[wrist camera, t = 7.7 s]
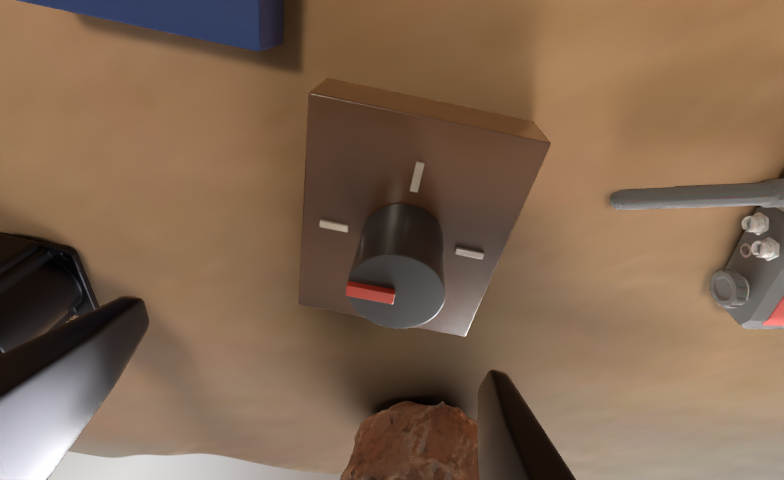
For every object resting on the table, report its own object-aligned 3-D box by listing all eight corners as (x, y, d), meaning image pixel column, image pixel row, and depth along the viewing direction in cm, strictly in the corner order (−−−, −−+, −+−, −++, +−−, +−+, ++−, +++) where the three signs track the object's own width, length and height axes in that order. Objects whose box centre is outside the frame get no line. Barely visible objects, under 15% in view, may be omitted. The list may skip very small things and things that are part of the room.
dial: (452, 212, 17) (457, 270, 13) (433, 277, 19) (432, 341, 16) (367, 195, 17) (349, 250, 13) (357, 263, 19) (340, 324, 16)
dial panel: (462, 302, 24) (465, 339, 21) (312, 272, 24) (297, 306, 21) (534, 121, 17) (553, 144, 15) (325, 77, 17) (306, 92, 14)
